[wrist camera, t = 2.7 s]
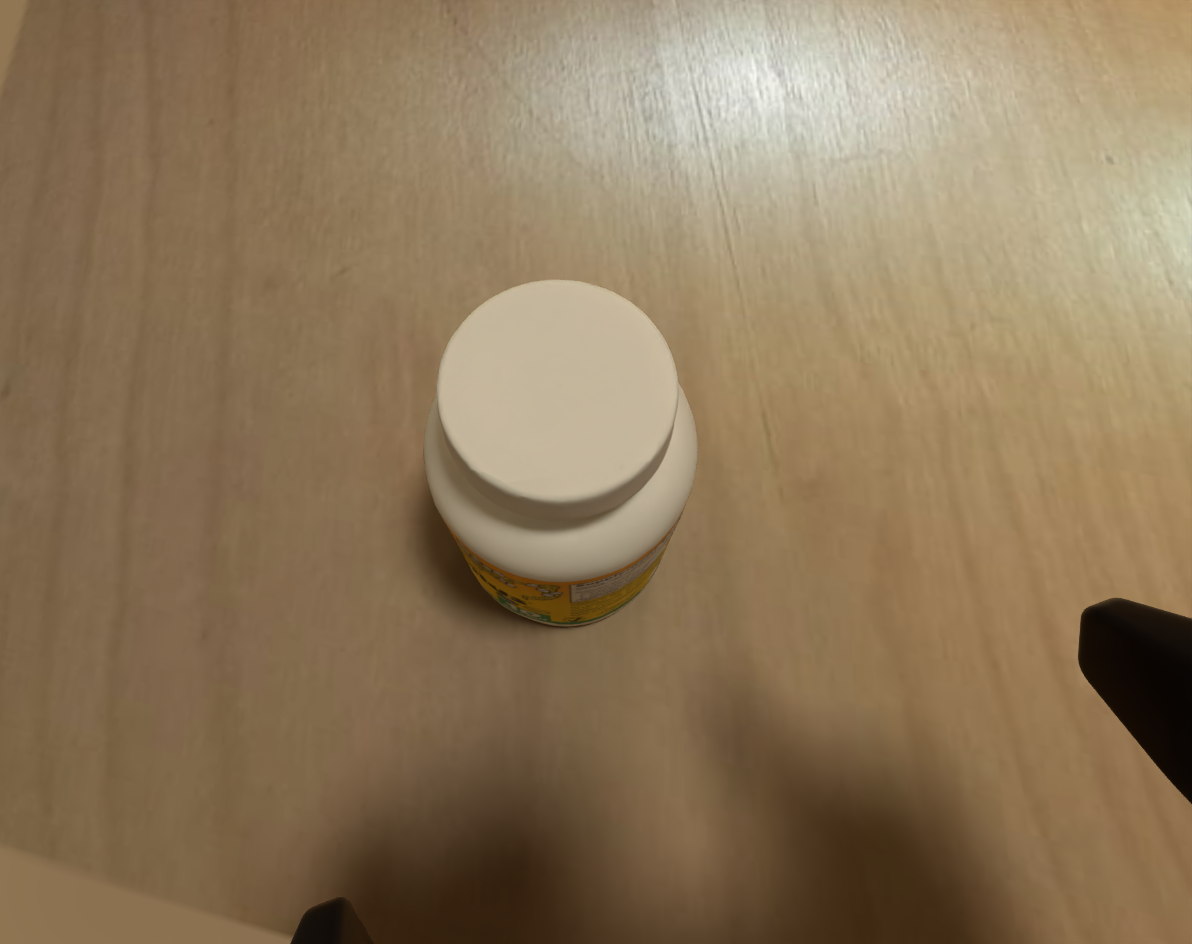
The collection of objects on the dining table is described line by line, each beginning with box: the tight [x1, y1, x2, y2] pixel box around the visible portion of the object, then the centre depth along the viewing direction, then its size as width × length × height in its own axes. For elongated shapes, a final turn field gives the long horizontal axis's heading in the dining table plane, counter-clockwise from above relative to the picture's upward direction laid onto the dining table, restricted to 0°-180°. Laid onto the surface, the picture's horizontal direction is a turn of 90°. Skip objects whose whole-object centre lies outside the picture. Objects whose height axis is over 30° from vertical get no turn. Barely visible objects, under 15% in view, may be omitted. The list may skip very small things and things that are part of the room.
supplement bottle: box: [423, 280, 698, 626], centre depth 19 cm, size 5×5×10 cm
